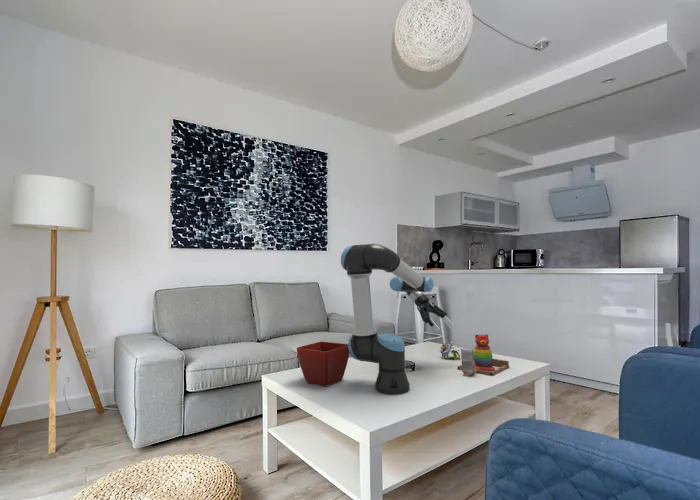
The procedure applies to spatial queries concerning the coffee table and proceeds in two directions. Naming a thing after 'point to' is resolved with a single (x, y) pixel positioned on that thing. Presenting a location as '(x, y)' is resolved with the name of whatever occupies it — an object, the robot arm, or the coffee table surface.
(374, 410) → the coffee table surface
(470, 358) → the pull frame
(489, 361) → the stacking bear
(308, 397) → the coffee table surface
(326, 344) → the plant pot
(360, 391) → the coffee table surface
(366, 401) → the coffee table surface
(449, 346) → the passion flower
